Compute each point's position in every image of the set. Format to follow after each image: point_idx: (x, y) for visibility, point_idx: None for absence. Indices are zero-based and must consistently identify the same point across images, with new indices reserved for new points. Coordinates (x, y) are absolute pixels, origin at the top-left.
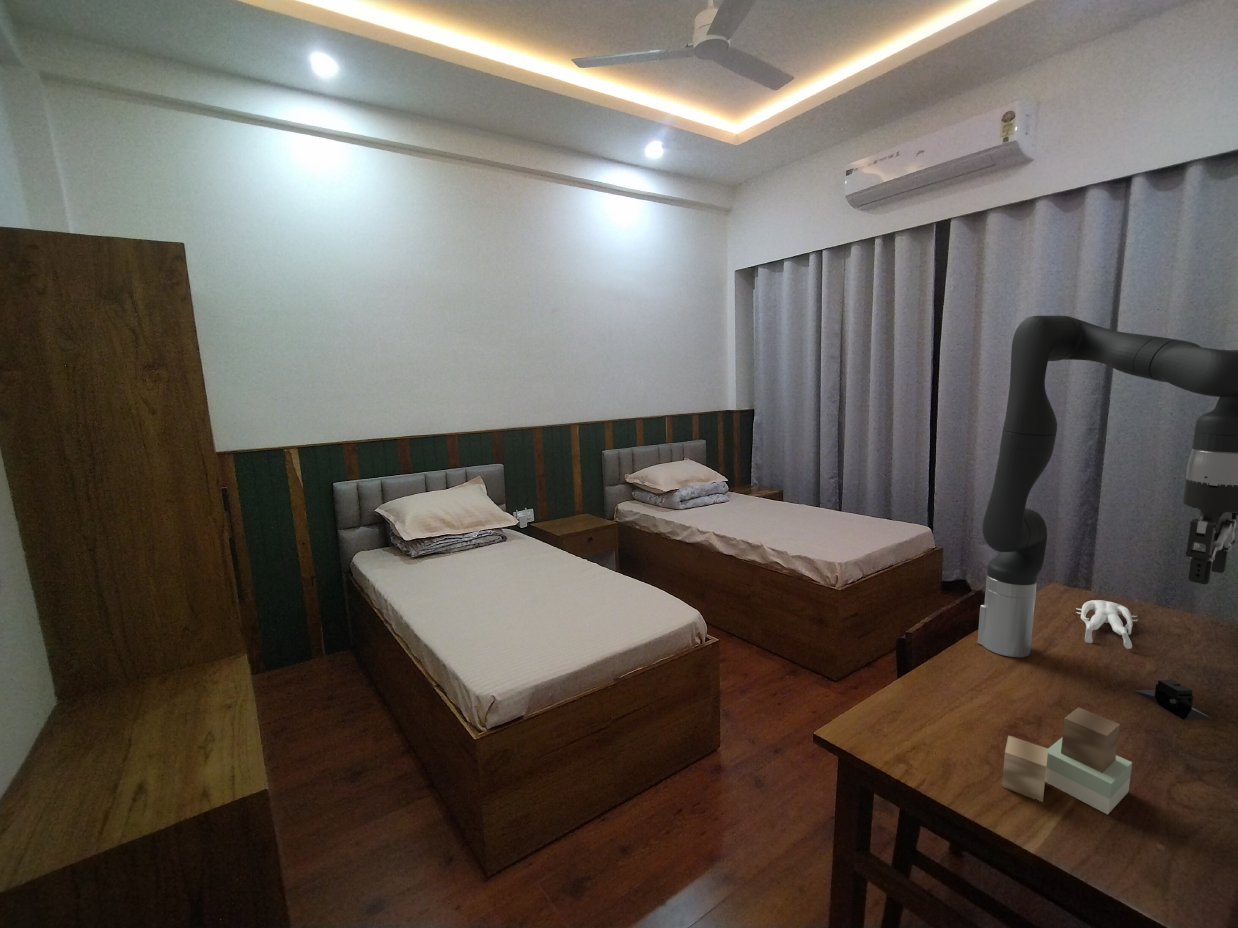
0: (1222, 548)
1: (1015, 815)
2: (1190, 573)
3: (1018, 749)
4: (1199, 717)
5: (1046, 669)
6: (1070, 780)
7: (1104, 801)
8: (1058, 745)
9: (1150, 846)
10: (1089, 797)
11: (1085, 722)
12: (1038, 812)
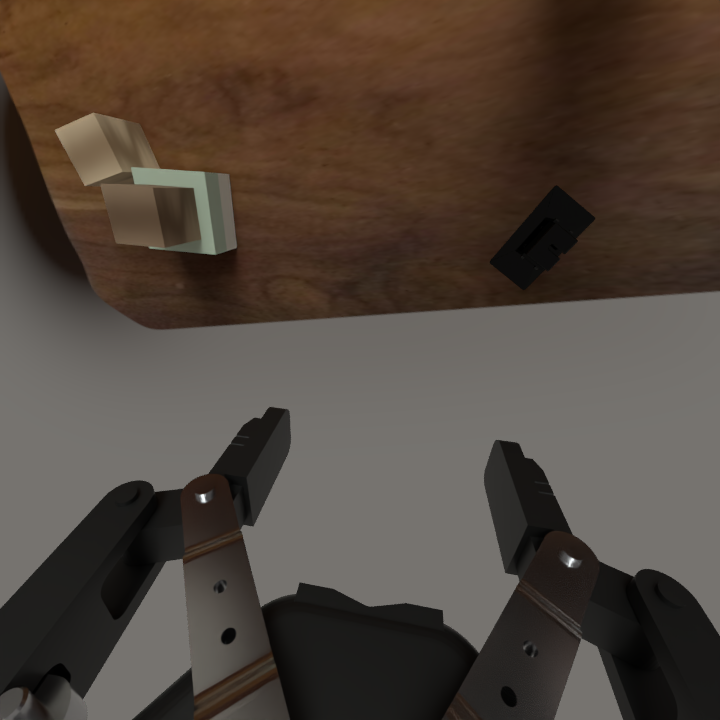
0: (522, 576)
1: None
2: (258, 425)
3: (79, 141)
4: (513, 276)
5: (545, 11)
6: None
7: None
8: (161, 175)
9: (171, 280)
10: None
11: (120, 211)
12: None
